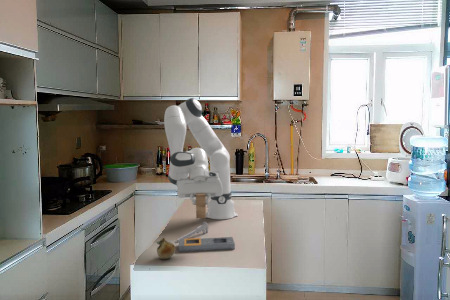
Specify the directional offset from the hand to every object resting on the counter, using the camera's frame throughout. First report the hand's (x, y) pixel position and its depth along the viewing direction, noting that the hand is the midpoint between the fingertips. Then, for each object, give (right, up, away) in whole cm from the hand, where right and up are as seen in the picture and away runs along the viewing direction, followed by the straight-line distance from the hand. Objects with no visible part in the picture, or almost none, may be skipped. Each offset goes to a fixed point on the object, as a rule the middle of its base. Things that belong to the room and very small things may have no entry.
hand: (200, 204), depth 164 cm
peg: (0, -6, +1) cm, 6 cm away
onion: (-13, -21, -10) cm, 27 cm away
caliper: (-5, -19, +17) cm, 26 cm away
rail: (+2, -19, +2) cm, 20 cm away
